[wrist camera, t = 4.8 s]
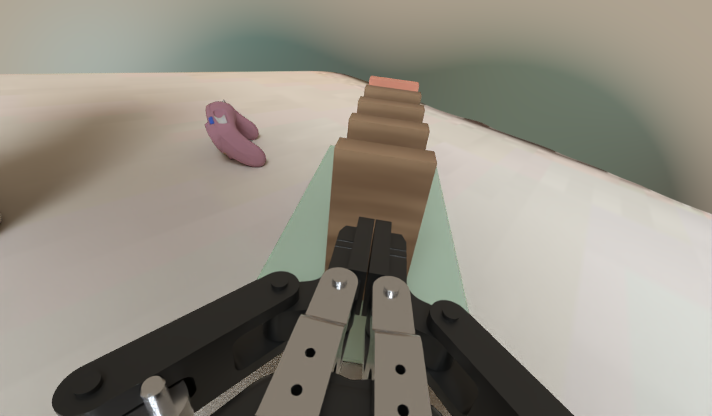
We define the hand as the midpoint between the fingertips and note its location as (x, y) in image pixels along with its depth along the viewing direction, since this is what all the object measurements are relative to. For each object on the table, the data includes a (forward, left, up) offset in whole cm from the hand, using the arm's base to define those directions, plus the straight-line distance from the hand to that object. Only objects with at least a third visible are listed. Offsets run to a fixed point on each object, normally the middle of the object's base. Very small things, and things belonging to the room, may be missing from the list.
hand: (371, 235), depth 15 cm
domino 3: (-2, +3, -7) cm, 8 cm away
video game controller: (-26, +11, -8) cm, 30 cm away
